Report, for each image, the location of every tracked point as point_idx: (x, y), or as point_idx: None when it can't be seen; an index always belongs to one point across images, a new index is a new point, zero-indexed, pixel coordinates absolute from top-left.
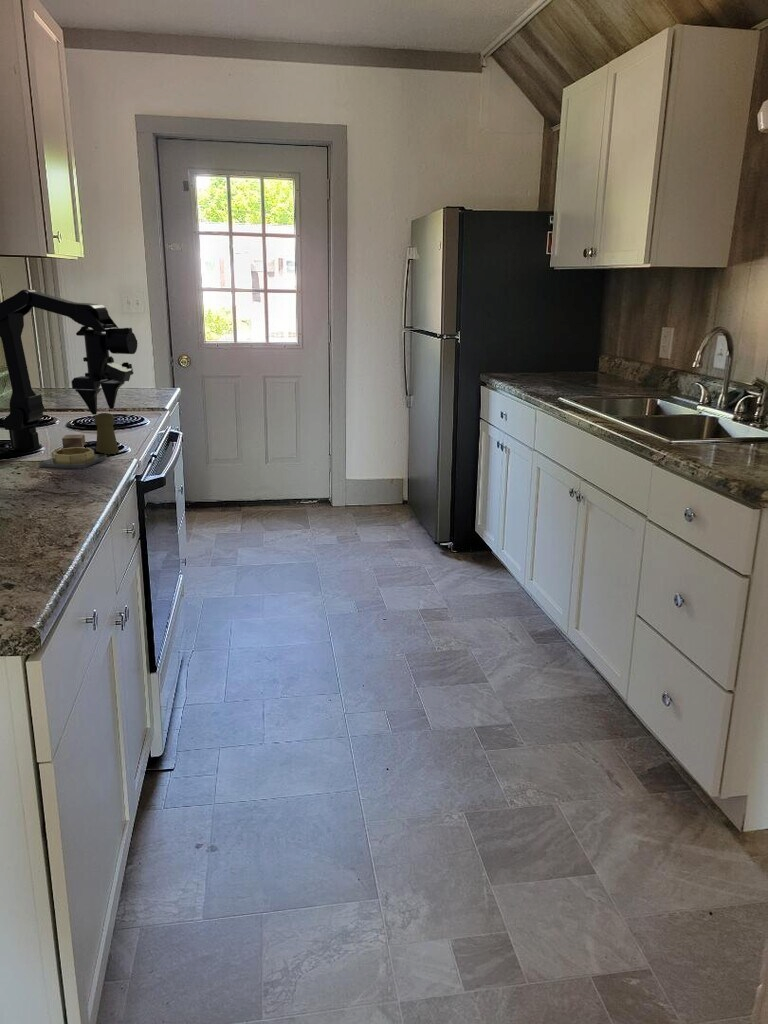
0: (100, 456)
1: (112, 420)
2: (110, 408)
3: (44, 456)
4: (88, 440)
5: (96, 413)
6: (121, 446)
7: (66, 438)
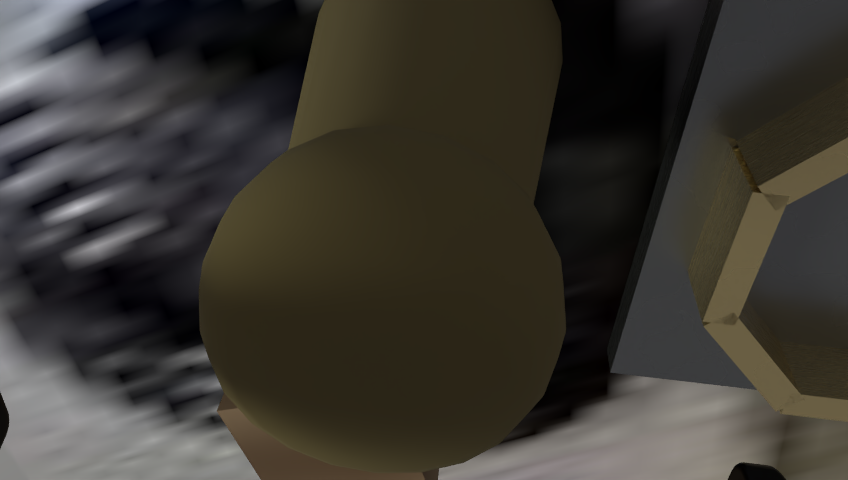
0: (835, 1)
1: (419, 154)
2: (6, 411)
3: (603, 463)
4: (11, 380)
5: (758, 469)
6: (94, 38)
7: (425, 477)
